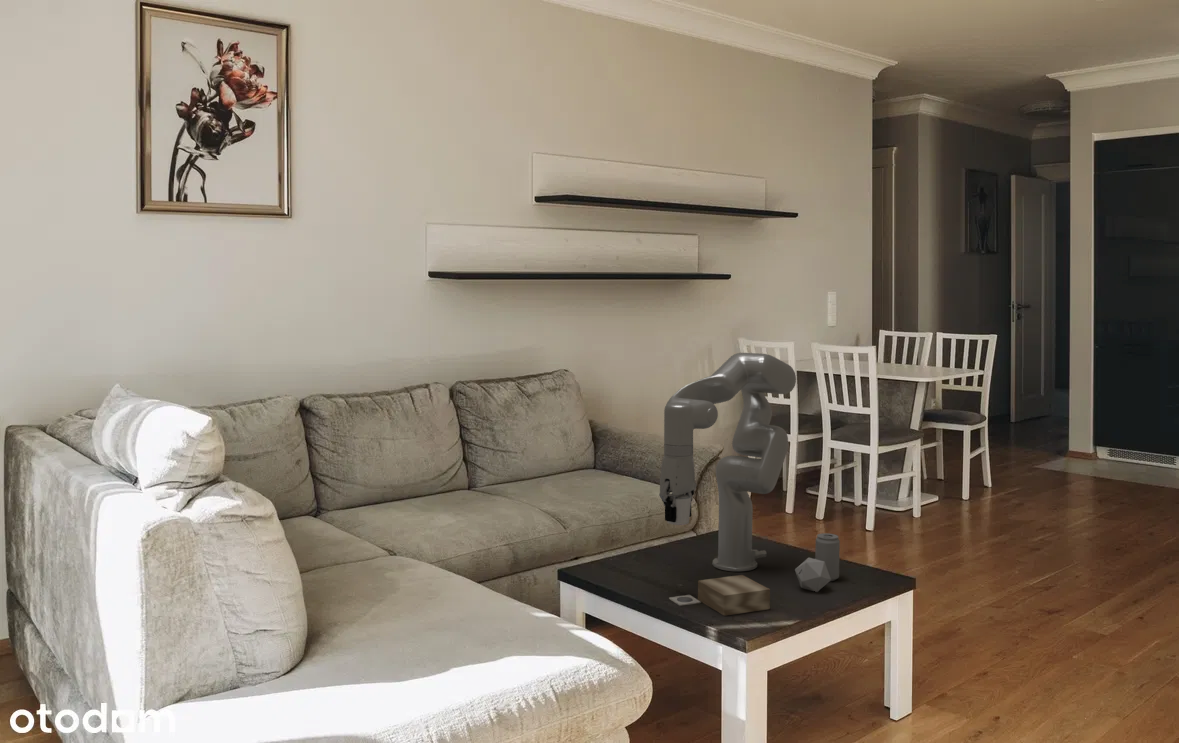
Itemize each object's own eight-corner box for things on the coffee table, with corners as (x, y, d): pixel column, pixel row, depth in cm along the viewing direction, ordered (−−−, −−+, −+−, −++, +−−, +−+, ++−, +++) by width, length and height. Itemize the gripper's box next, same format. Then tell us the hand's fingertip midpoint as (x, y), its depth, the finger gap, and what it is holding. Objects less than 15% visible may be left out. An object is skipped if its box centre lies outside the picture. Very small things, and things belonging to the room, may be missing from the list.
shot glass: (689, 526, 250) (690, 499, 249) (663, 524, 251) (663, 498, 251) (692, 519, 256) (692, 493, 256) (666, 518, 258) (666, 492, 257)
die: (799, 584, 263) (786, 560, 259) (827, 569, 263) (815, 545, 258) (810, 604, 256) (797, 580, 252) (839, 588, 255) (827, 564, 251)
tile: (689, 595, 251) (689, 594, 251) (700, 602, 246) (700, 601, 246) (668, 598, 249) (668, 597, 249) (679, 605, 243) (679, 604, 243)
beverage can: (840, 576, 268) (841, 534, 267) (836, 583, 262) (837, 539, 261) (817, 573, 271) (818, 531, 270) (812, 580, 265) (813, 536, 264)
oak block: (741, 593, 253) (742, 574, 253) (769, 608, 241) (770, 589, 241) (697, 599, 248) (698, 580, 248) (724, 615, 236) (724, 595, 236)
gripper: (685, 444, 261) (684, 510, 263) (647, 453, 248) (646, 522, 249) (708, 447, 256) (708, 514, 258) (671, 456, 243) (671, 527, 245)
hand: (678, 518), depth 254 cm, fingers closed on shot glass, 6 cm apart
